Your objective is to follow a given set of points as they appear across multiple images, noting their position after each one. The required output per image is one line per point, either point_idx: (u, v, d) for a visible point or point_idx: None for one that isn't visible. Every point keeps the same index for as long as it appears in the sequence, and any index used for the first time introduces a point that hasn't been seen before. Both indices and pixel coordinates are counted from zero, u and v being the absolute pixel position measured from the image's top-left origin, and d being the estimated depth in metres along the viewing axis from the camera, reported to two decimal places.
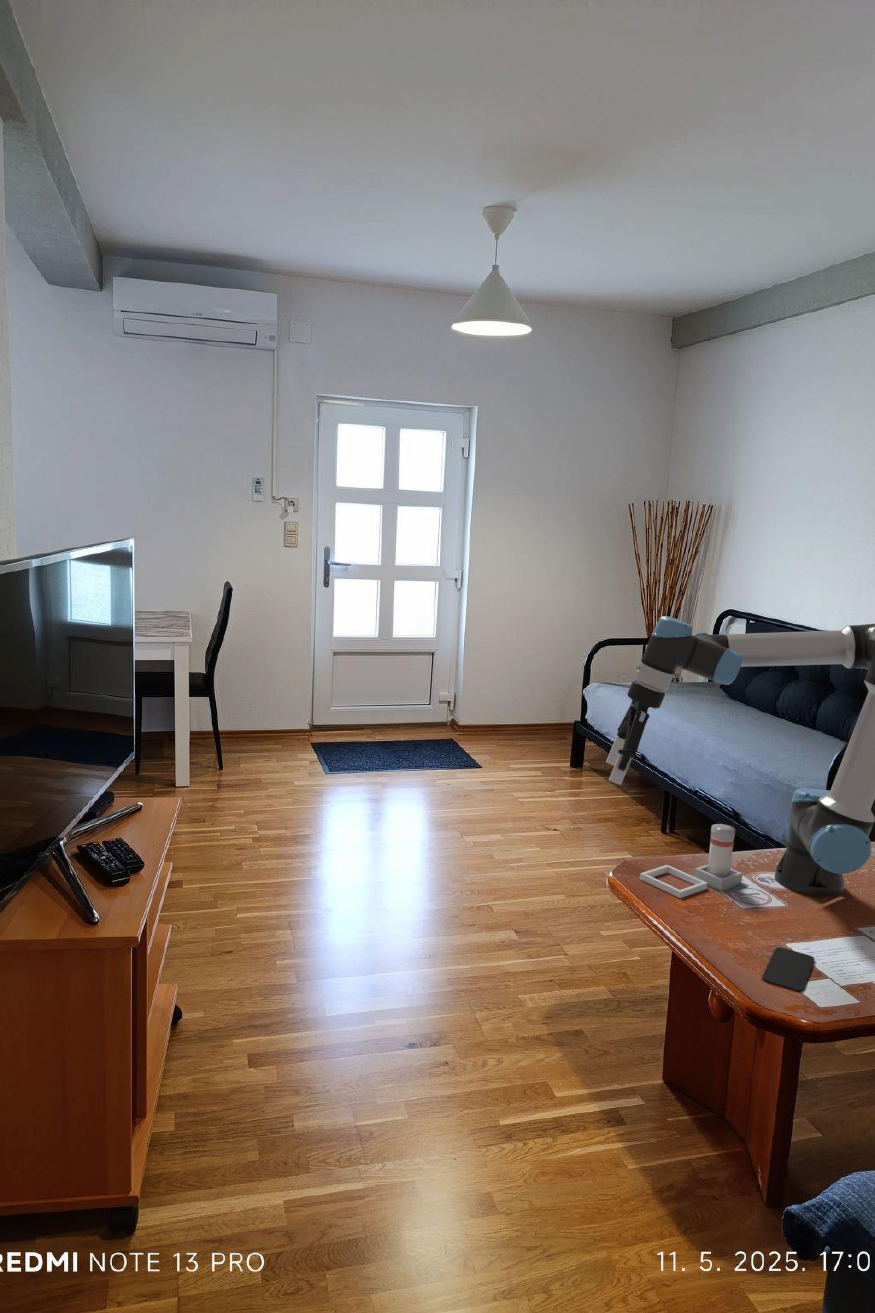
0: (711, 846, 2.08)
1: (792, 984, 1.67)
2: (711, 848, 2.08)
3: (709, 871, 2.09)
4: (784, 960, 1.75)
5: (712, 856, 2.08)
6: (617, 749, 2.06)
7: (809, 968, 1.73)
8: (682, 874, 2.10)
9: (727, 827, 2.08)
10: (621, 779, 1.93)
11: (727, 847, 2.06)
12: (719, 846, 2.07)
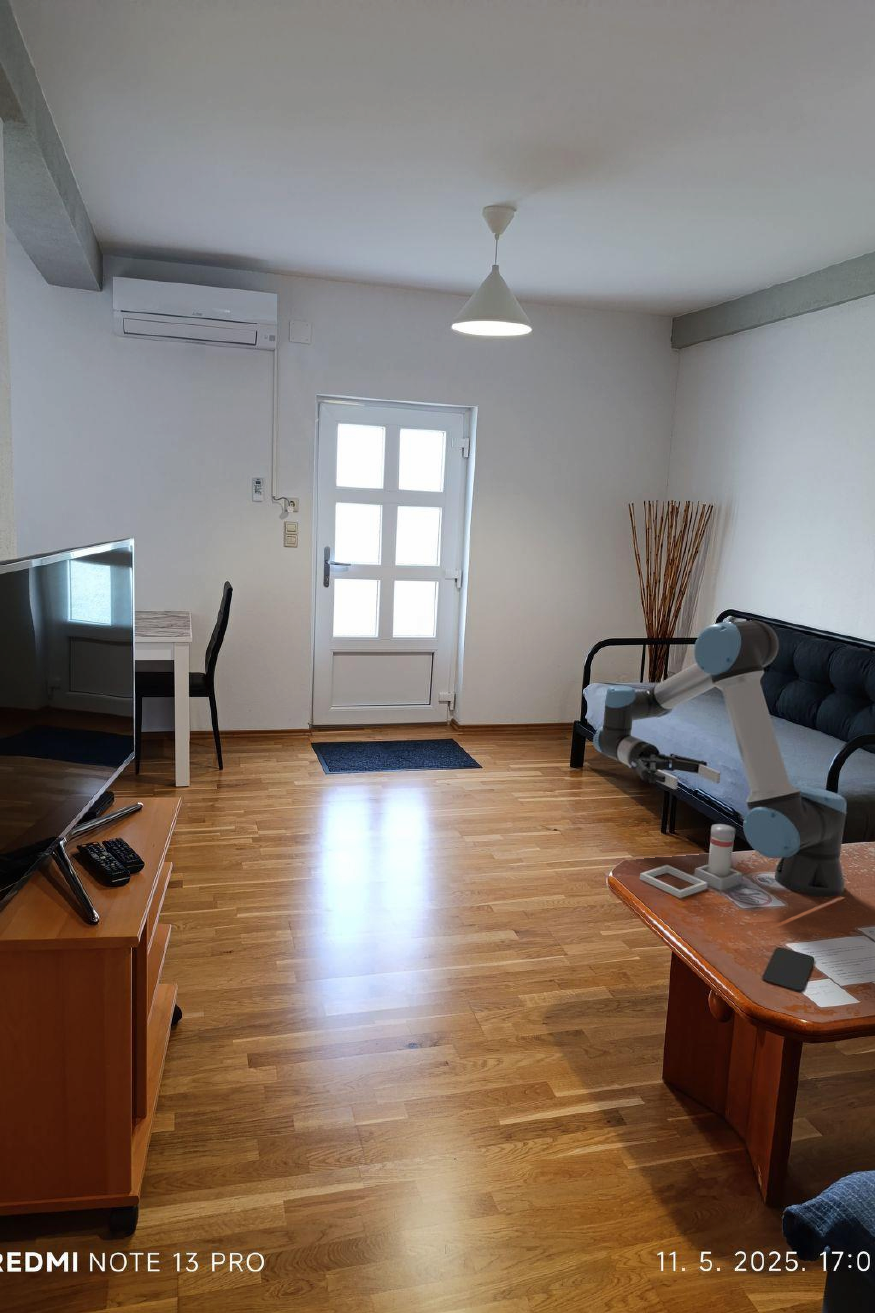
0: (711, 846, 2.08)
1: (792, 984, 1.67)
2: (711, 848, 2.08)
3: (709, 871, 2.09)
4: (784, 960, 1.75)
5: (712, 856, 2.08)
6: (706, 773, 2.21)
7: (809, 968, 1.73)
8: (682, 874, 2.10)
9: (727, 827, 2.08)
10: (671, 778, 2.12)
11: (727, 847, 2.06)
12: (719, 846, 2.07)
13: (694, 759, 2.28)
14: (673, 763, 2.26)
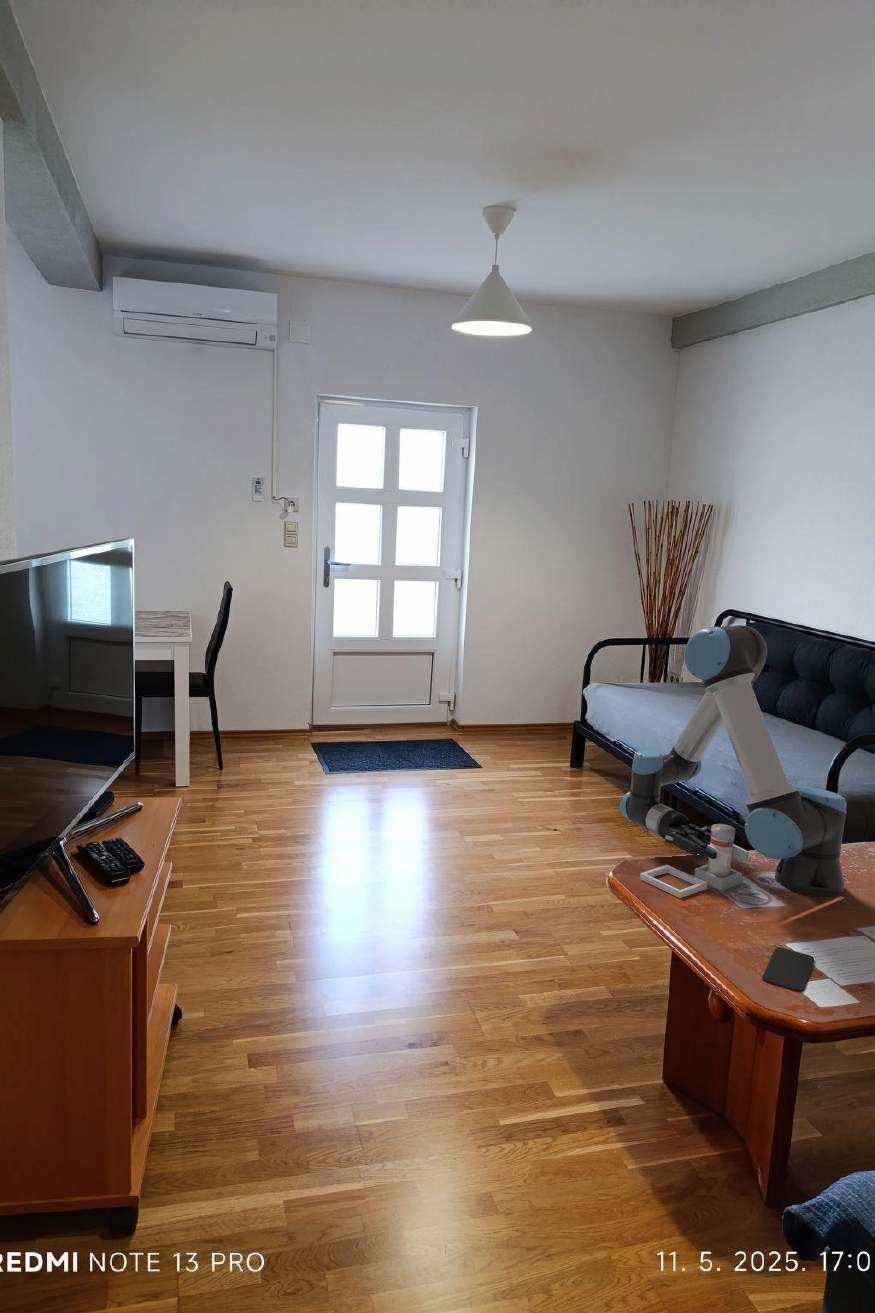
0: None
1: (792, 984, 1.67)
2: None
3: (709, 871, 2.09)
4: (784, 960, 1.75)
5: None
6: (733, 852, 2.09)
7: (809, 968, 1.73)
8: (682, 874, 2.10)
9: (727, 827, 2.08)
10: (723, 855, 2.04)
11: (727, 847, 2.06)
12: (719, 846, 2.07)
13: None
14: (701, 836, 2.17)
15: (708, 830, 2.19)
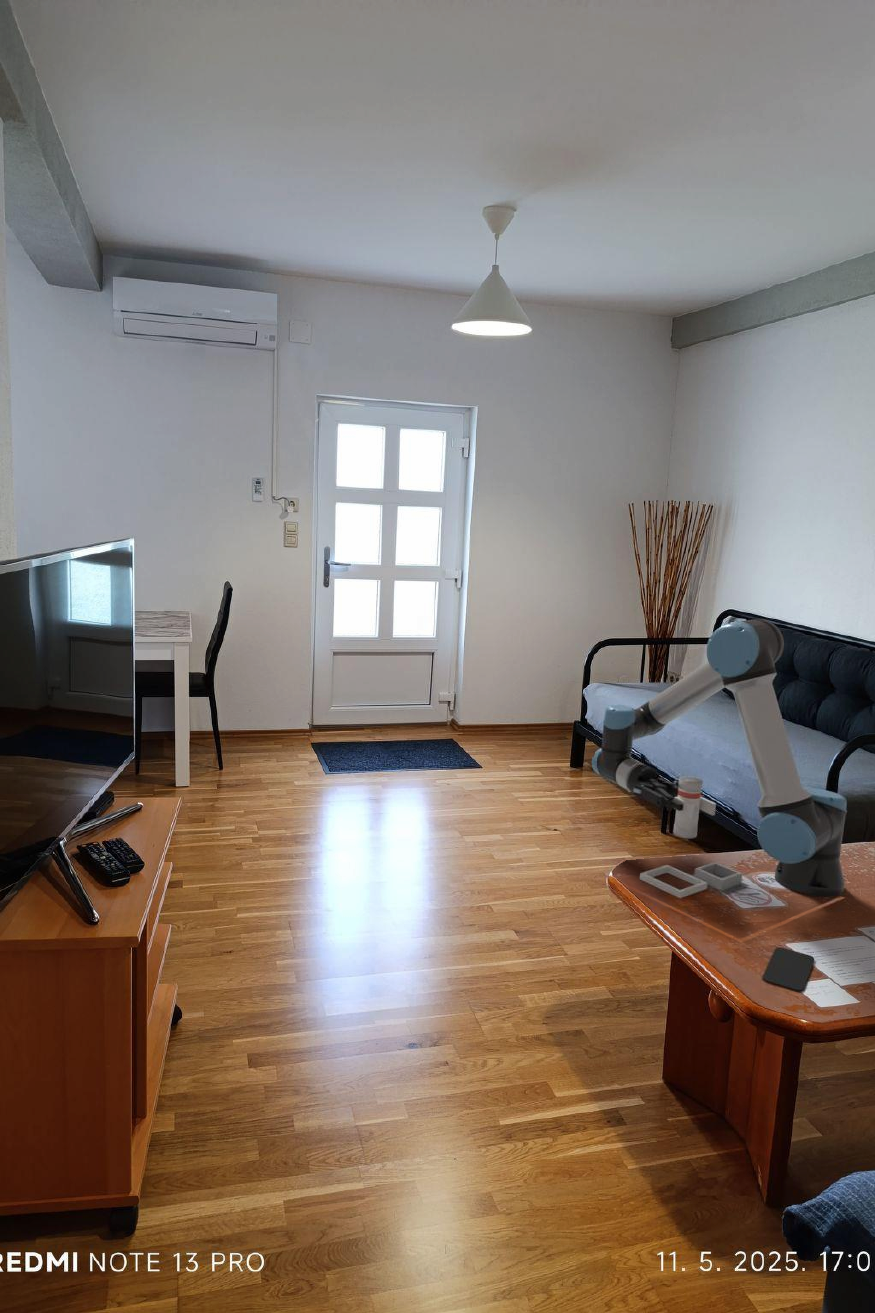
0: None
1: (792, 984, 1.67)
2: None
3: (676, 824, 2.06)
4: (784, 960, 1.75)
5: None
6: (700, 804, 2.05)
7: (809, 968, 1.73)
8: (682, 874, 2.10)
9: (694, 779, 2.05)
10: (689, 806, 2.00)
11: (694, 799, 2.03)
12: (686, 797, 2.03)
13: None
14: (670, 789, 2.13)
15: None
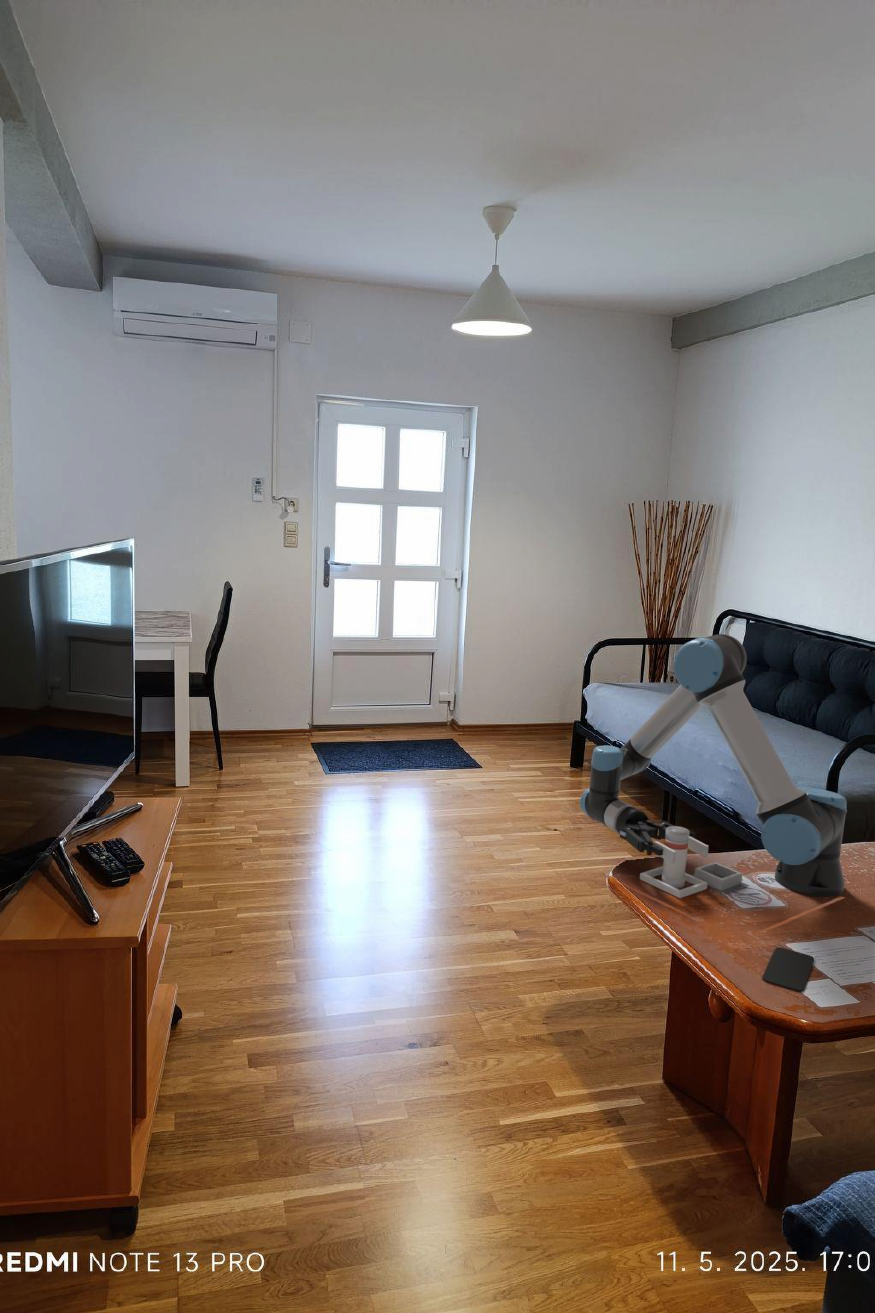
0: None
1: (792, 984, 1.67)
2: None
3: (664, 874, 2.07)
4: (784, 960, 1.75)
5: None
6: (693, 846, 2.07)
7: (809, 968, 1.73)
8: None
9: (681, 830, 2.06)
10: (669, 851, 2.01)
11: (681, 850, 2.04)
12: (673, 848, 2.04)
13: None
14: (660, 832, 2.14)
15: (666, 826, 2.17)
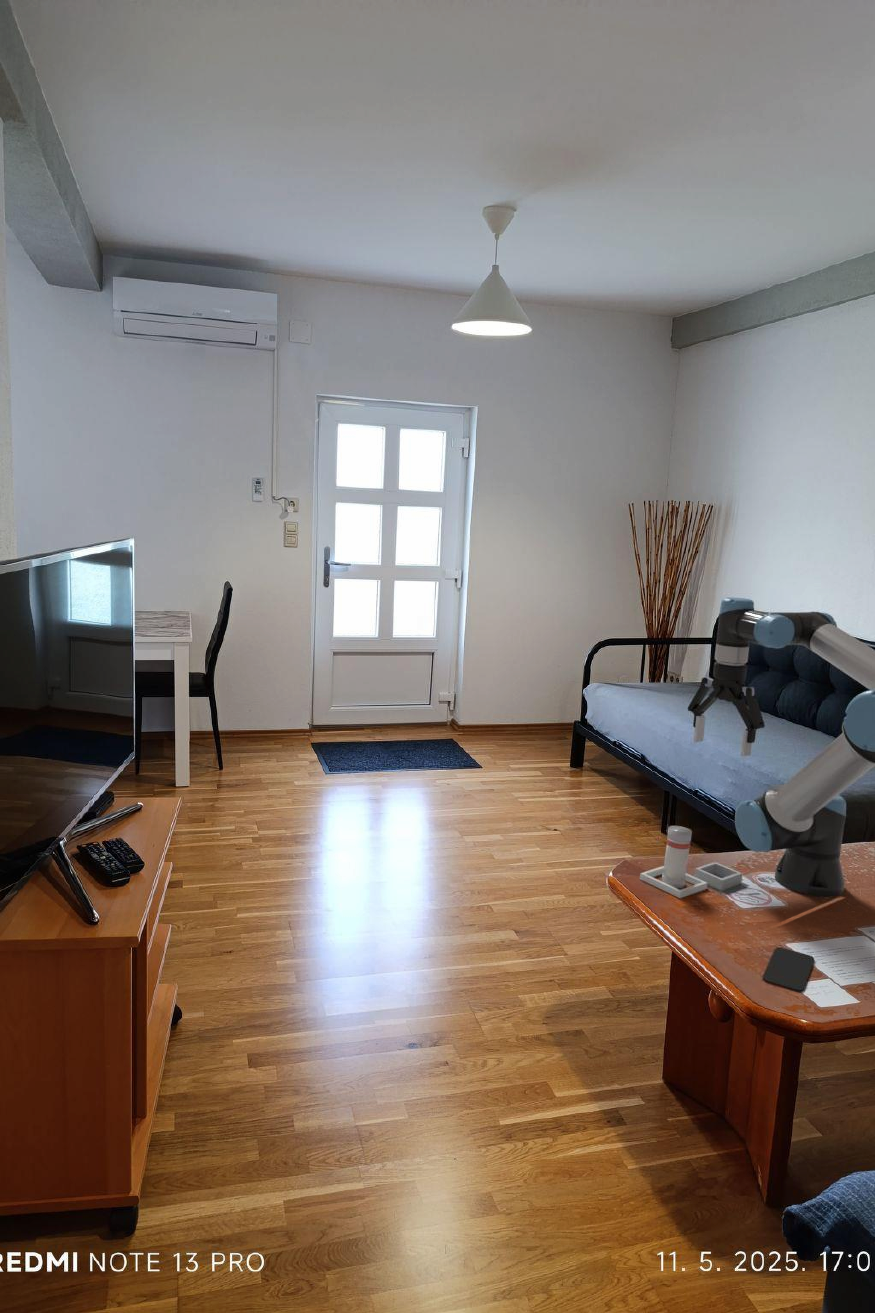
0: (667, 848, 2.06)
1: (792, 984, 1.67)
2: (667, 850, 2.06)
3: (665, 873, 2.06)
4: (784, 960, 1.75)
5: (668, 858, 2.05)
6: None
7: (809, 968, 1.73)
8: None
9: (683, 829, 2.06)
10: None
11: (683, 849, 2.04)
12: (676, 848, 2.04)
13: (755, 714, 2.10)
14: None
15: None
